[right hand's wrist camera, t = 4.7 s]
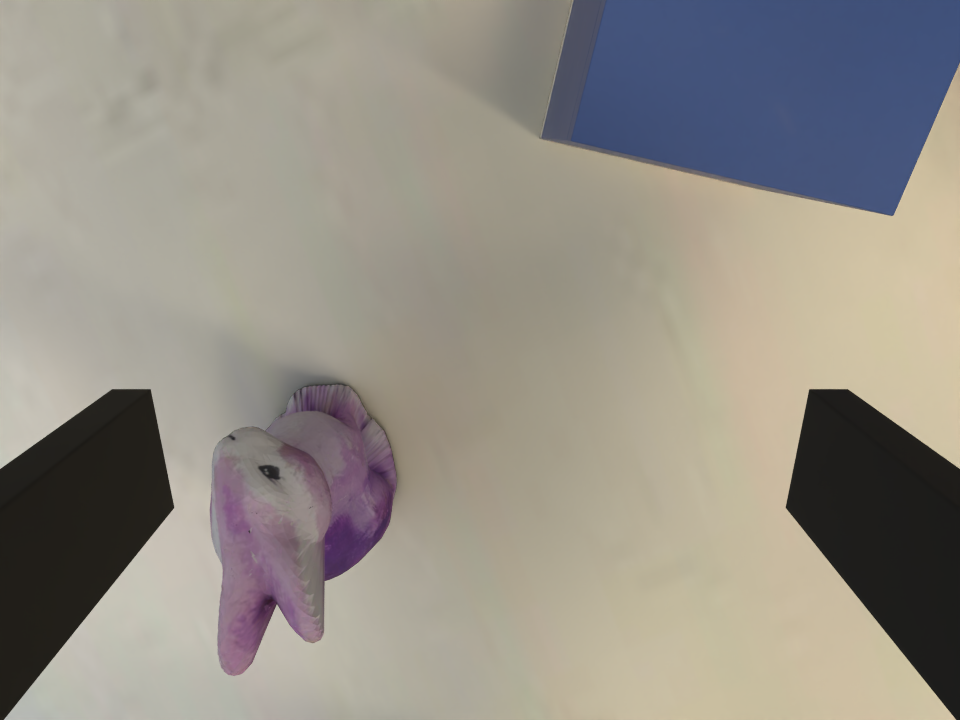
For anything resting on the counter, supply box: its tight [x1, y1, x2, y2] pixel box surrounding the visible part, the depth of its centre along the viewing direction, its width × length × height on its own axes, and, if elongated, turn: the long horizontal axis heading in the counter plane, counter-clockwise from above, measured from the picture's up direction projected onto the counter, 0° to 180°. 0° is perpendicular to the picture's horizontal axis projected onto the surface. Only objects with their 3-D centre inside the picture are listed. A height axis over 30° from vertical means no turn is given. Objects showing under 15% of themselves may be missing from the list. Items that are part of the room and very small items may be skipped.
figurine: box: [210, 384, 397, 676], centre depth 31 cm, size 9×10×15 cm
